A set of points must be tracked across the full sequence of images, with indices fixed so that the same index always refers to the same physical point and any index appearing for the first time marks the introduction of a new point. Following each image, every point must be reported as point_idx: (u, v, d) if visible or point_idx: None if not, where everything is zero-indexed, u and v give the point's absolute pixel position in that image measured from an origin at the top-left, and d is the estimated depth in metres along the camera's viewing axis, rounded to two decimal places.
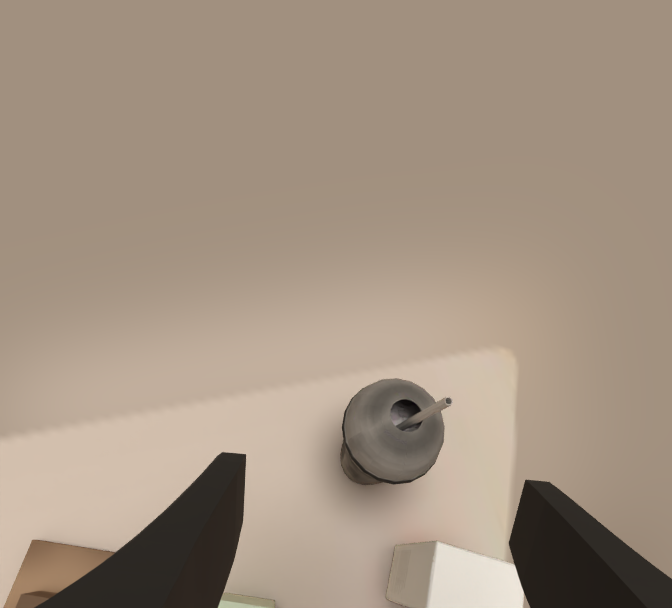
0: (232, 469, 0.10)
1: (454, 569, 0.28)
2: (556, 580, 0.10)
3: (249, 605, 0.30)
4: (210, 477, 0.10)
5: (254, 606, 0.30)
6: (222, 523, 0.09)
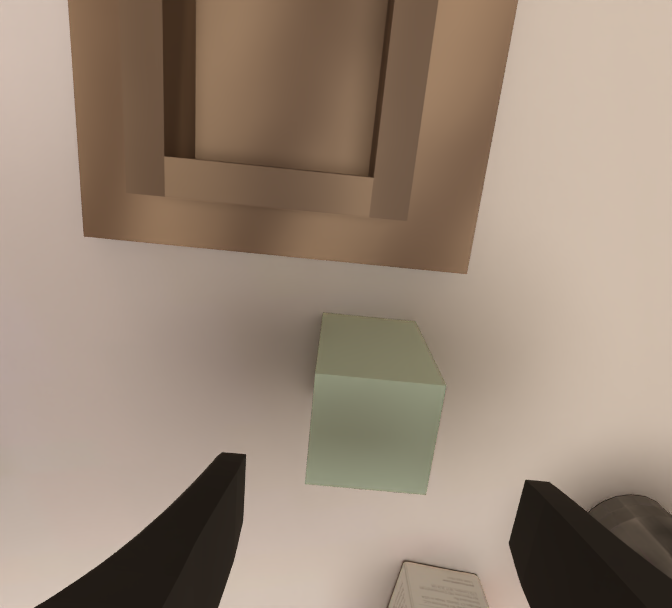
0: (232, 469, 0.10)
1: None
2: (556, 580, 0.10)
3: (432, 449, 0.14)
4: (210, 477, 0.10)
5: (430, 459, 0.14)
6: (222, 523, 0.09)
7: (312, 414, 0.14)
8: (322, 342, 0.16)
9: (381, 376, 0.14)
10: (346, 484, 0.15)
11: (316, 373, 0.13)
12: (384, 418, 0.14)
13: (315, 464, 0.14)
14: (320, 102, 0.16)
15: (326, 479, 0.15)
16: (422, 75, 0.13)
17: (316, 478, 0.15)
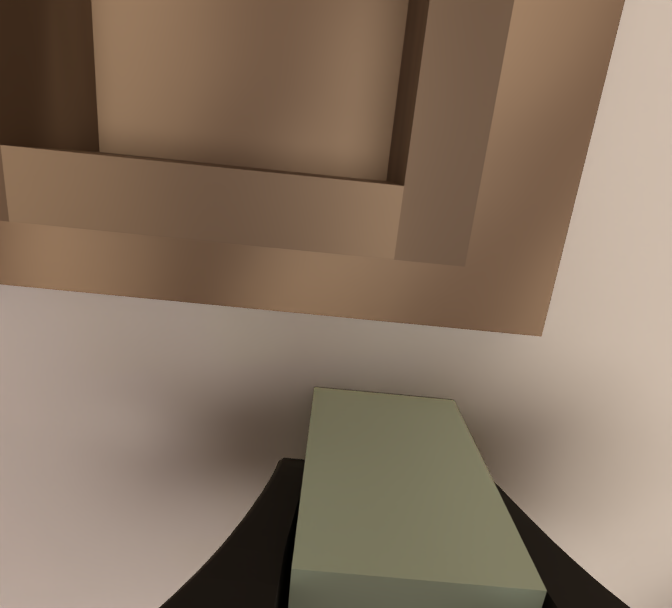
0: (299, 475, 0.10)
1: None
2: None
3: None
4: (280, 483, 0.10)
5: None
6: (295, 529, 0.09)
7: None
8: (310, 463, 0.09)
9: (419, 566, 0.07)
10: None
11: (294, 567, 0.07)
12: None
13: None
14: (306, 55, 0.09)
15: None
16: None
17: None
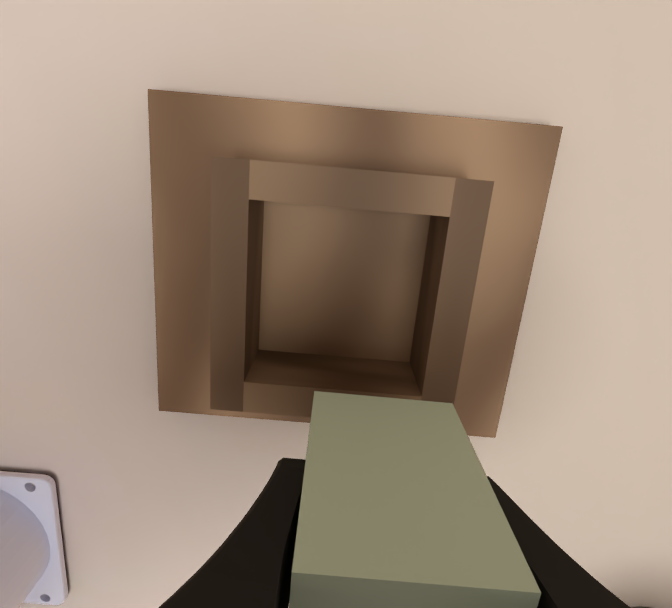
0: (299, 475, 0.10)
1: None
2: None
3: None
4: (280, 483, 0.10)
5: None
6: (295, 529, 0.09)
7: None
8: (310, 467, 0.10)
9: (417, 569, 0.07)
10: None
11: (294, 571, 0.07)
12: None
13: None
14: (368, 305, 0.18)
15: None
16: (464, 321, 0.15)
17: None
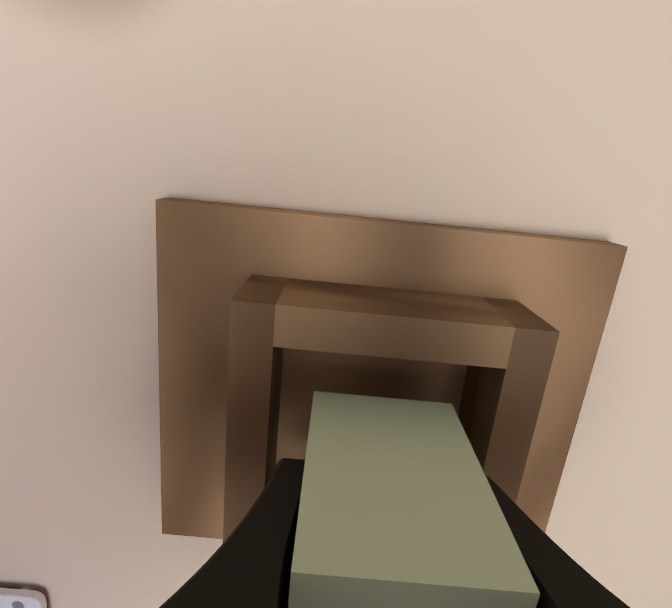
0: (299, 475, 0.10)
1: None
2: None
3: None
4: (280, 483, 0.10)
5: None
6: (295, 529, 0.09)
7: None
8: (309, 467, 0.10)
9: (416, 569, 0.07)
10: None
11: (293, 571, 0.07)
12: None
13: None
14: None
15: None
16: (516, 478, 0.13)
17: None
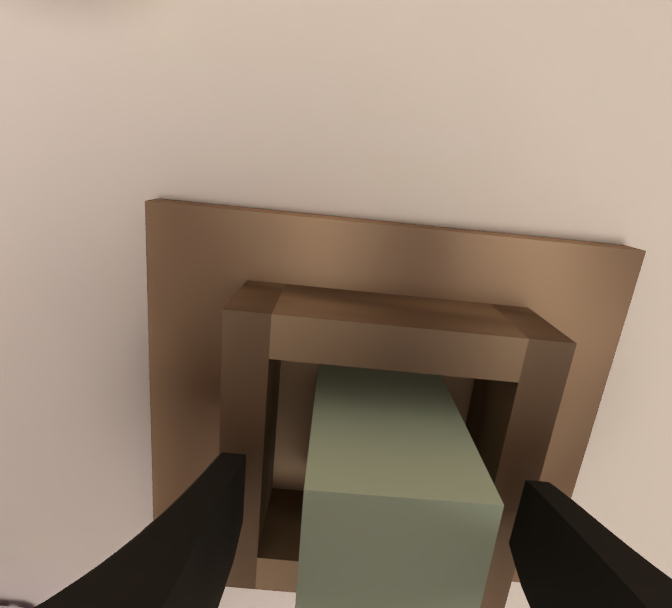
0: (232, 469, 0.10)
1: None
2: (556, 580, 0.10)
3: (481, 591, 0.10)
4: (210, 477, 0.10)
5: (478, 605, 0.10)
6: (222, 523, 0.09)
7: (301, 546, 0.09)
8: (317, 419, 0.11)
9: (404, 489, 0.09)
10: None
11: (305, 489, 0.09)
12: (410, 550, 0.09)
13: None
14: None
15: None
16: None
17: None
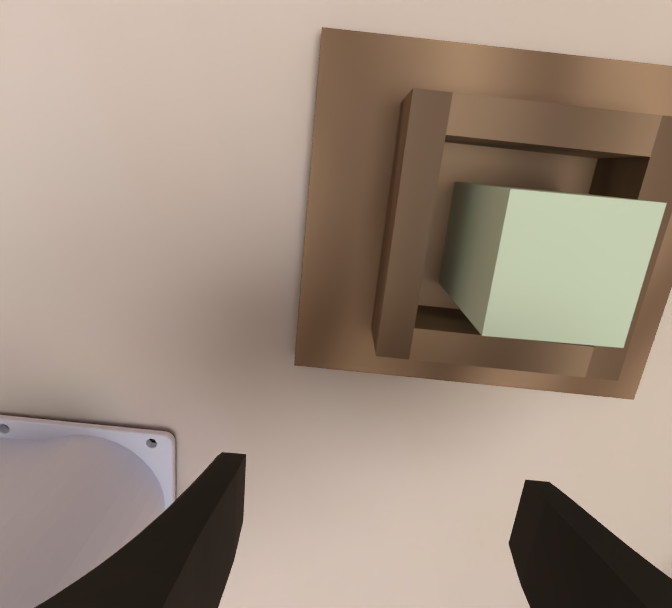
0: (232, 469, 0.10)
1: None
2: (556, 580, 0.10)
3: (638, 288, 0.12)
4: (210, 477, 0.10)
5: (635, 301, 0.12)
6: (222, 523, 0.09)
7: (500, 244, 0.12)
8: (484, 185, 0.14)
9: (585, 195, 0.12)
10: (531, 335, 0.12)
11: (511, 189, 0.11)
12: (587, 247, 0.12)
13: (497, 309, 0.12)
14: None
15: (507, 328, 0.12)
16: (649, 268, 0.15)
17: (496, 328, 0.12)
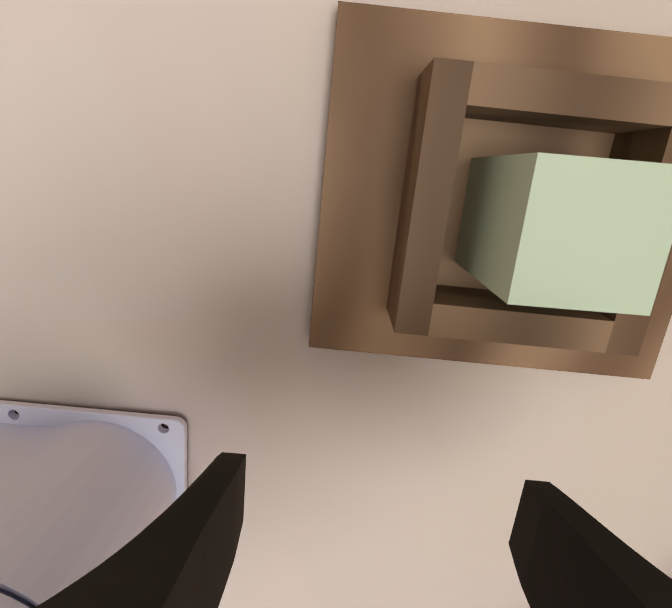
0: (232, 469, 0.10)
1: None
2: (556, 580, 0.10)
3: (666, 254, 0.12)
4: (210, 477, 0.10)
5: (662, 267, 0.12)
6: (222, 523, 0.09)
7: (527, 209, 0.12)
8: (506, 155, 0.14)
9: (612, 159, 0.11)
10: (557, 303, 0.12)
11: (538, 153, 0.11)
12: (614, 212, 0.12)
13: (523, 277, 0.12)
14: None
15: (533, 297, 0.12)
16: None
17: (522, 296, 0.12)
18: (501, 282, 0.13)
